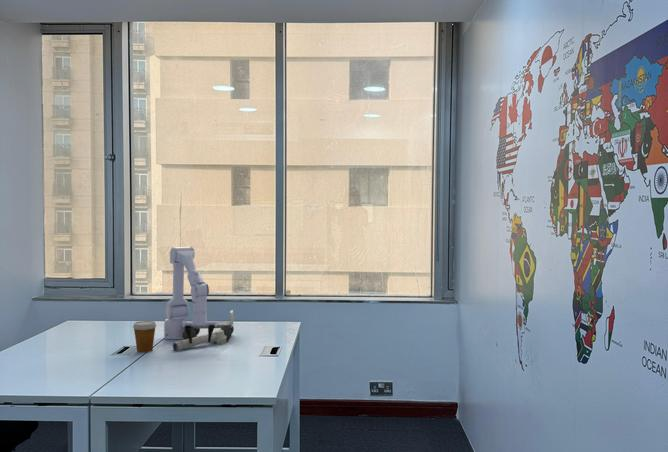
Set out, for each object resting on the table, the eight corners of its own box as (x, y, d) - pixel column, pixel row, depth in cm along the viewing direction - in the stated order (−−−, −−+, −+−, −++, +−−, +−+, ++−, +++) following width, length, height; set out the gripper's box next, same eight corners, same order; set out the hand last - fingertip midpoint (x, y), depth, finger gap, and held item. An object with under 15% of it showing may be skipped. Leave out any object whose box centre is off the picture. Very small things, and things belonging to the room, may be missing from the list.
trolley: (182, 341, 259) (182, 314, 259) (187, 335, 272) (187, 309, 271) (231, 341, 261) (231, 313, 261) (233, 335, 274) (233, 309, 273)
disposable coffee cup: (149, 354, 237) (149, 325, 237) (128, 352, 239) (128, 324, 238) (160, 348, 246) (160, 321, 246) (140, 347, 248) (140, 320, 248)
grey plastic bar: (171, 341, 245) (221, 326, 261) (173, 356, 246) (223, 340, 262) (176, 343, 241) (227, 327, 257) (178, 358, 242) (229, 342, 258)
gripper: (181, 313, 241) (181, 345, 241) (215, 312, 242) (215, 344, 242) (184, 310, 248) (184, 341, 248) (217, 310, 249) (217, 341, 249)
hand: (200, 342), depth 246 cm, fingers open, 7 cm apart
